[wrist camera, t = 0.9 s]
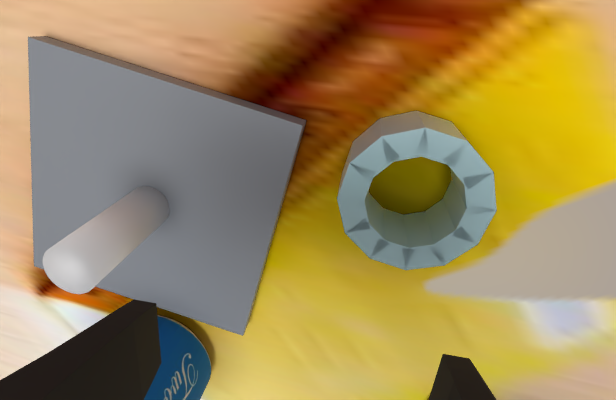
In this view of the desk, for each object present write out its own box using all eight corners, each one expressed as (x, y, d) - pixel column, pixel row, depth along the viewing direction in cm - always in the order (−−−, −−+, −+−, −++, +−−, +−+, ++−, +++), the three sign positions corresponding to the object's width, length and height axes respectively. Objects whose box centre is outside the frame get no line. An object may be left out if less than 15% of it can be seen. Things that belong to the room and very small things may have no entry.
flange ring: (499, 136, 16) (525, 159, 13) (442, 247, 19) (454, 286, 16) (369, 95, 16) (368, 109, 14) (328, 210, 19) (321, 242, 16)
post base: (306, 120, 17) (271, 169, 11) (248, 323, 22) (203, 430, 16) (46, 36, 17) (-123, 41, 11) (47, 256, 22) (-69, 338, 16)
